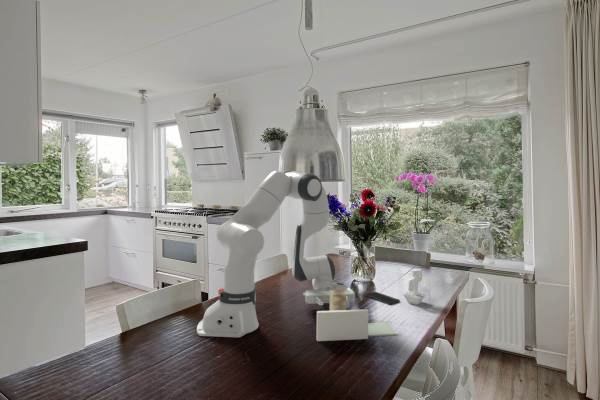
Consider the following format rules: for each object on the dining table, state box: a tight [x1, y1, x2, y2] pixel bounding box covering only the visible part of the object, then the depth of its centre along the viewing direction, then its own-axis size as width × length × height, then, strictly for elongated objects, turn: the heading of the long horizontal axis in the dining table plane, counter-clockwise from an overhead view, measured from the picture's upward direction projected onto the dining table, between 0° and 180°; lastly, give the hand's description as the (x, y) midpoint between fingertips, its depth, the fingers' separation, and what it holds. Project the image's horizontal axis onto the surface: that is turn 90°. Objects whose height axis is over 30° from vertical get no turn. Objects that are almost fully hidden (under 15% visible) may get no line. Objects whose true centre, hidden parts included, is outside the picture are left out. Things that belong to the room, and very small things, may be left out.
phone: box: [364, 291, 401, 306], centre depth 166 cm, size 8×1×15 cm
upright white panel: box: [315, 308, 370, 342], centre depth 125 cm, size 18×2×10 cm, turn 97°
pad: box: [368, 322, 397, 337], centre depth 133 cm, size 10×10×1 cm
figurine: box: [403, 268, 427, 306], centre depth 161 cm, size 7×9×15 cm
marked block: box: [328, 290, 347, 311], centre depth 132 cm, size 5×5×14 cm
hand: (333, 303), depth 139 cm, fingers open, 8 cm apart
